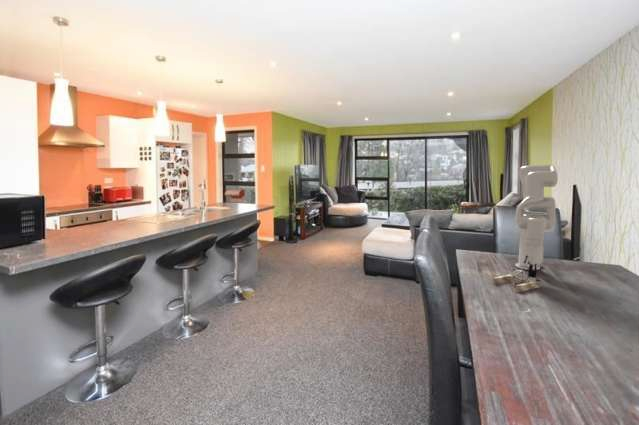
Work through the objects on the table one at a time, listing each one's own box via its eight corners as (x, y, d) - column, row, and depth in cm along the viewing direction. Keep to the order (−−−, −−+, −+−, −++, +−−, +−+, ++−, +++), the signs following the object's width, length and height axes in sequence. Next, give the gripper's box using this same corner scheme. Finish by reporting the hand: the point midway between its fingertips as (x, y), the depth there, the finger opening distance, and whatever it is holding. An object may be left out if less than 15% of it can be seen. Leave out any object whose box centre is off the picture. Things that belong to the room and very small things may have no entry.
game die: (519, 290, 174) (527, 274, 175) (527, 290, 166) (536, 272, 167) (502, 281, 176) (511, 264, 177) (509, 280, 168) (519, 263, 169)
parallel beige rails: (513, 279, 181) (513, 272, 180) (540, 287, 168) (540, 279, 168) (492, 283, 174) (492, 276, 174) (518, 292, 161) (519, 284, 161)
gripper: (536, 239, 180) (534, 273, 182) (517, 242, 174) (515, 276, 176) (551, 241, 173) (548, 276, 175) (532, 244, 167) (529, 281, 169)
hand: (532, 276), depth 176 cm, fingers closed
